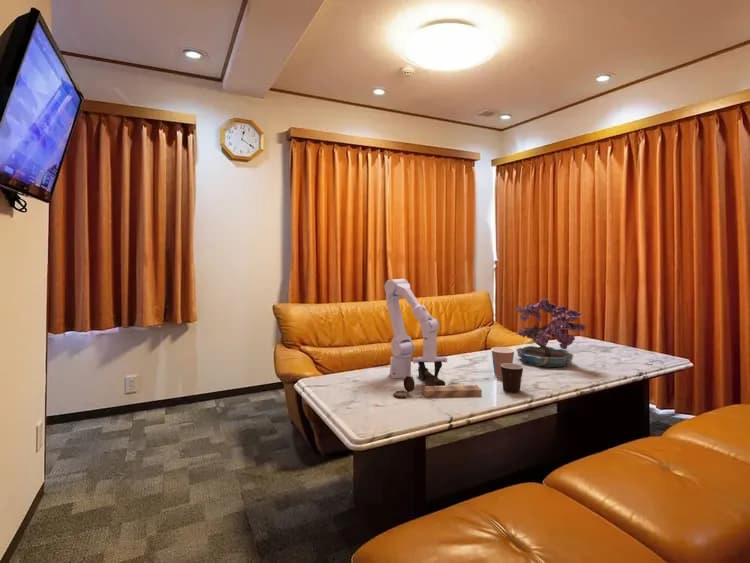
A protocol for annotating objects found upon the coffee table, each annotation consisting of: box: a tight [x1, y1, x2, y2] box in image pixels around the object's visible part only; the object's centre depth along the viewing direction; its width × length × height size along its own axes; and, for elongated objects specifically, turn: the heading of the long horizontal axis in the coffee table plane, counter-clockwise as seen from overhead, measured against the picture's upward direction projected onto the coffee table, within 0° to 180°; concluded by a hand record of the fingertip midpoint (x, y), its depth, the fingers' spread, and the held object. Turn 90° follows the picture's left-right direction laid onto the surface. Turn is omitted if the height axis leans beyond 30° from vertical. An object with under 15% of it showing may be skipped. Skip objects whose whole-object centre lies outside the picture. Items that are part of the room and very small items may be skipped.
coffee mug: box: [501, 362, 524, 394], centre depth 165 cm, size 12×9×10 cm
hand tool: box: [417, 366, 446, 386], centre depth 176 cm, size 23×5×6 cm, turn 13°
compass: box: [392, 376, 416, 399], centre depth 159 cm, size 8×8×7 cm
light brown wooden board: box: [422, 384, 483, 399], centre depth 162 cm, size 22×6×3 cm, turn 93°
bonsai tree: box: [515, 298, 586, 368], centre depth 205 cm, size 35×27×32 cm
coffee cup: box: [490, 346, 516, 379], centre depth 186 cm, size 10×10×12 cm
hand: (429, 379), depth 175 cm, fingers closed on hand tool, 4 cm apart
